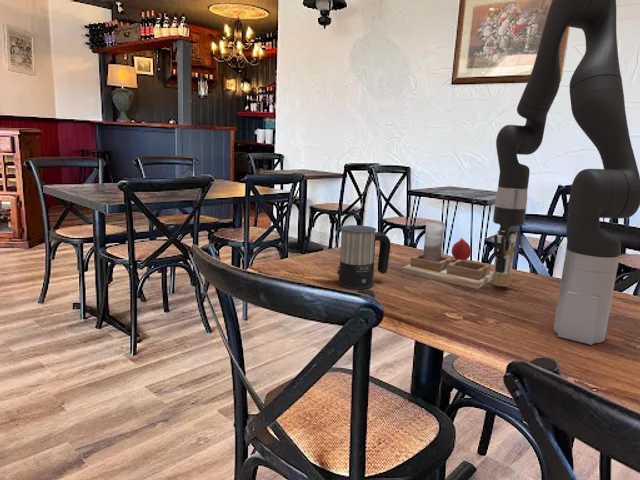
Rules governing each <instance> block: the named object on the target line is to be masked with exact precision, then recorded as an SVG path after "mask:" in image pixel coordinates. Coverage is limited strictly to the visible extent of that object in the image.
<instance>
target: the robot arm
mask: <svg viewBox="0 0 640 480" xmlns="http://www.w3.org/2000/svg"><path fill="white" fill-rule="evenodd" d="M567 28H575V29H581V30H582V31H583V34H584V38H585V52H584V55H583V56H582V58H581V60H580V61H579V63H578V64H577V66H576V68H575V70H574V72H573V73H572V76H571V77H570V81H569V98H570V108H571V112H572V116H573V119H574V120H575V122H576V123H577V125H578V126H579V127H580V129H581V130H582V132H583V133H584V134H585V135H586V136H587V138H588V139H589V140H590V141H591V142H592V144H593V145H594V147H595V149H597V152H598V153H599V156H600V158H601V159H600V160H601V163H602V167H603V168H584V169H582V170H581V171H579V172H578V173H577V174H576V175H575V177H574V178H573V181H572V183H571V186H570V192H569V200H568V209H567V211H568V212H567V219H566V220H567V222H566V232H565V233H566V248H565V255H564V260H563V266H562V271H561V273H562V274H561V279H560V286H559V291H558V292H559V293H558V298H557V299H558V300H557V304H556V311H555V319H554V324H553V331H554V332H555V333H556V334H557V337H559V338H562V339H566V340H570V341H575V342H579V343H583V344H587V345H591V346H593V345H594V344H599V343H603V342H605V339H606V334H607V328H608V324H609V323H608V322H609V317H610V311H611V305H612V299H613V295H614V291H615V290H614V289H615V283H616V278H617V272H618V267H619V261H620V255H621V250H622V243H621V240H619V239H618V238H616V237H614V236H611V235H609V234H607V233H605V232H603V230H601V226H600V219H627V218H630V217H633V216H634V215H635V214H636V213H637V211H638V210H639V208H640V172H639V169H638V165H637V160H636V157H635V154H634V149H633V146H632V145H633V144H632V141H631V138H630V133H629V132H630V131H629V125H628V120H627V119H628V118H627V114H626V112H627V111H626V107H625V106H626V105H625V94H624V93H625V92H624V85H623V78H622V74H621V73H622V72H621V68H620V61H619V51H618V38H617V37H618V36H617V35H618V34H617V0H551V2H550V5H549V9H548V12H547V15H546V19H545V23H544V26H543V31H542V34H541V37H540V42H539V45H538V49H537V52H536V56H535V60H534V64H533V67H532V70H531V73H530V75H529V78H528V81H527V82H526V83H527V84H526V85H525V88H524V90H523V93H522V94H521V96H520V100H519V101H518V105H517V108H516V112H517V114H518V116H520V117H521V118H523V119H525V120H526V121H525V124H524V125H516V124H506V125H504V126H503V127H502V128H500V130H499V131H498V133H497V137H496V139H495V140H496V141H495V145H496V146H495V149H496V152H497V153H496V154H497V159H498V166H499V167H498V169H499V177H498V184H497V190H496V195H495V199H494V200H495V201H494V211H493V218H492V221H493V224H496V225H499V226H500V227H499V229H498V230H497V232H496V234H495V235H494V236H493V256H494V257H495V256H496V266H495V271H496V272H499V273H503V272H504V271H505V263H506V258H507V252H508V251H509V250H510V248H511V241H512V239H513V237H514V235H515V236H516V241H515V244H514V252H516V247H517V241H518V237H519V229H516V227H522V226H524V225H525V219H526V212H527V206H528V189H529V181H530V174H531V173H530V167H529V166H527V165H525V164H523V163H522V164H521V163H520V162H519V159H518V155H522V156H523V155H525V156H526V155H532V154H534V153H536V151H537V150H538V149H539V148H540V147H541V145H542V142H543V139H544V134H545V128H546V123H547V117H548V113H549V112H550V109H551V107H552V105H553V103H554V100H555V99H556V97H557V95H558V91H559V90H560V86H561V85H560V84H561V65H560V63H561V62H560V47H561V42H562V40H563V36H564V34H565V33H566V30H567ZM507 244H508V246H505V245H507ZM500 249H501V250H502V253H501V252H500Z"/></svg>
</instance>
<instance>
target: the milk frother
mask: <svg viewBox="0 0 640 480" xmlns="http://www.w3.org/2000/svg"><path fill="white" fill-rule="evenodd" d="M340 230H341V233H340V235H341V236H340V237H341V239H340V255H339V258H340V259H339V266H338V267H337V273H338V279H337V284H338V286H341V287H343V288H347V289H352V290H362V289H369V288H372V287H373V286H374V281H373V279H374V278H373V277H374V276H375V275H374V272H375V271H374V270H375V263H374V262H375V255H376V241H379V250H378V260H377V271H378V272H379V273H380V274H383V275H384V274H386V273H387V272H388V267H389V261H390V253H391V244H392V243H391V240H390V238H389V237H388V236H387V234H384V233H383V232H378V231H377V228H375V227H372V226H369V225H368V226H367V225H360V224H359V225H358V224H357V225H356V224H352V225H350V224H349V225H342V226H340Z"/></svg>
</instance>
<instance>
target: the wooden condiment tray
mask: <svg viewBox="0 0 640 480" xmlns="http://www.w3.org/2000/svg"><path fill="white" fill-rule="evenodd" d="M444 231H445V222H443V221H440V220H427V221H425V234H424V242H423V243H424V244H423V252H422V253H420V254H418V255H414V256H412V257H410V263H409V264H407V265H405V266H402V267H401V273H403V274H408V275H412V276H416V277H421V278H426V279H431V280H435V281H439V282H444V283H448V284H454V285H458V286H461V287H467V288H471V289H476V290H480V289H481V288H482V287H484V286H485V285H487V284H488V283H490V282H492V280H493V273H494V271H491V265H490V264H485V263H480V262H476V261H469V260H460V259H459V260H455V261H453V258H454V257H450V256H449V257H447V256H443V255H442V250H443V249H442V247H443V239H444Z"/></svg>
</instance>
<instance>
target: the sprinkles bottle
mask: <svg viewBox="0 0 640 480" xmlns="http://www.w3.org/2000/svg"><path fill="white" fill-rule="evenodd" d="M515 241H516V236H515V235H514V237H513V239H512V241H511V248H510V250H509V251H508V252H507V258H506V263H505V271H504V272H503V273H499V272H496V271H495V266H496V256H494V263H493V272H494V273H493V280H491V283H492V284H493V285H495V286H498V287H509V286H510V285H511V276H512V275H511V274H512V269H513V258H514V253H515V251H514V244H515ZM505 246H508V244H507V245H505ZM500 252H501V253H502V250H501V249H500Z"/></svg>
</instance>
